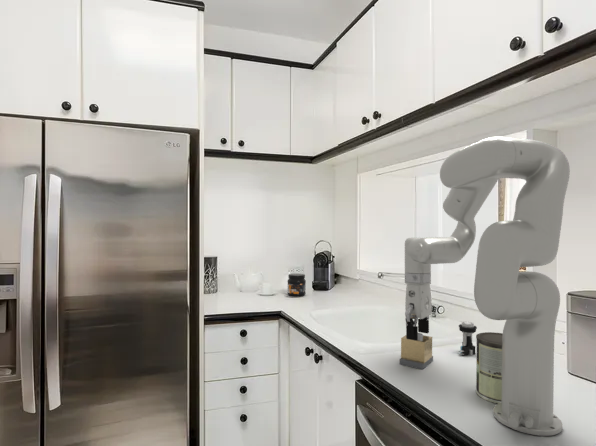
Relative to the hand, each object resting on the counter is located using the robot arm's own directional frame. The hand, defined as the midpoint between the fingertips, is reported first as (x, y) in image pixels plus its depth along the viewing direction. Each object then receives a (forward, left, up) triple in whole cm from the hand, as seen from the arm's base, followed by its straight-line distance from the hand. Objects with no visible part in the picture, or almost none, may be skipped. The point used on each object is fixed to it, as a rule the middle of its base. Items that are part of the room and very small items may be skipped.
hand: (417, 335), depth 117 cm
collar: (0, 0, -7) cm, 7 cm away
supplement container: (+64, +94, -8) cm, 114 cm away
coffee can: (-10, -24, -8) cm, 27 cm away
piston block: (0, 0, -8) cm, 8 cm away
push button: (+17, -10, -8) cm, 21 cm away
